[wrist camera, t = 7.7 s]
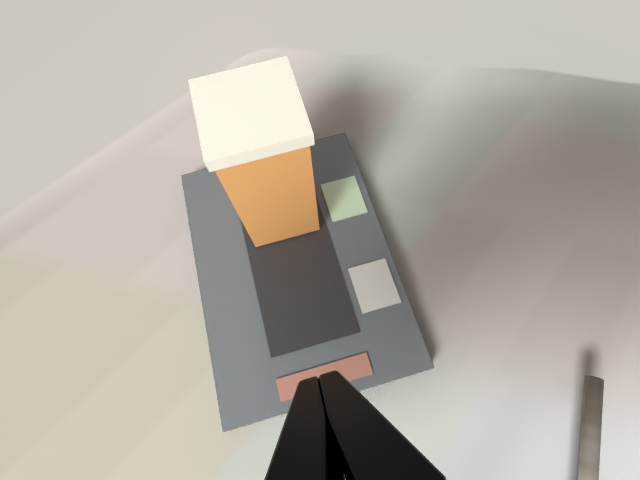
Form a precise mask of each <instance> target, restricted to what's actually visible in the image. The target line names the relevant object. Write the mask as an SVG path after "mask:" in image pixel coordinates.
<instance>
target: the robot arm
mask: <svg viewBox="0 0 640 480" xmlns="http://www.w3.org/2000/svg"><path fill="white" fill-rule="evenodd" d="M344 476H345V477H344ZM345 479H346V480H446V477H445V476H444V475H443V474H442V473H441V472H440V471H439V470H438V469H437V468H436V467H435V466H434V465H433V464H432V463H431V462H430V461H429V460H428V459H427V458H426V457H425V456H424V455H423V454H422V453H421V452H420V451H419V450H418V449H417V448H416V447H415V446H414V445H413V444H412V443H411V442H410V441H409V440H408V439H406V438H405V437H404V436H403V435H402V434H401V433H400V432H399V431H398V430H397V429H396V428H395V427H394V426H393V425H392V424H391V423H390V422H389V421H388V420H387V419H386V418H385V417H384V416H383V415H382V414H381V413H380V412H379V411H378V410H377V409H376V408H375V407H374V406H373V405H372V404H371V403H370V402H369V401H368V400H367V399H366V398H365V397H364V396H363V395H362V394H361V393H360V392H359V391H358V390H357V389H356V388H355V387H354V386H353V385H352V384H351V383H350V382H349V381H348V380H347V379H346V378H345V377H344V376H342V375H341V374H340V373H339V372H338V371H336V370H334V371H331V372H327V373H324V374H321V375H320V376H319V379H318V377H316V376H314V377H311V378H307V379H304V380H301V381H300V382H299V383H298V385H297V388H296V391H295V394H294V397H293V399H292V402H291V405H290V408H289V411H288V414H287V417H286V419H285V422H284V425H283V428H282V431H281V434H280V437H279V439H278V442H277V445H276V448H275V451H274V454H273V457H272V459H271V462H270V465H269V468H268V471H267V474H266V477H265V479H264V480H345Z"/></svg>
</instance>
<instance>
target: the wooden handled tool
mask: <svg viewBox="0 0 640 480" xmlns="http://www.w3.org/2000/svg"><path fill="white" fill-rule="evenodd" d="M603 389H604V380H603V379H601V378H597V377H593V376H585V380H584V393H583V407H582V421H581V435H580V448H579V462H578V476H577V480H598V479H599V461H600V443H601V425H602V407H603Z"/></svg>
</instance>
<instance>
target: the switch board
mask: <svg viewBox="0 0 640 480" xmlns="http://www.w3.org/2000/svg"><path fill="white" fill-rule="evenodd" d="M314 143H315V145H312V146H310V151H311V160H312V168H313V177H314V185H315V194H316V202H317V211H318V220H319V228H320V230H317V231H313V232H309V233H306V234H302V235H298V236H295V237H291V238H288V239H284V240H280V241H277V242H273V243H269V244H266V245H262V246H259V247H255V245H254V243H253V241H252V239H251V237H250V236H249V234H248V232H247V230H246V228H245V226H244V224H243V223H242V221H241V219H240V217H239V215H238V213H237V211H236V210H235V208H234V206H233V204H232V202H231V200H230V198H229V197H228V195H227V193H226V191H225V189H224V187H223V185H222V183H221V182H220V180H219V178H218V176H217V174H216V172H215V171H213V172H209V170H208V169H204V170H200V171H196V172H192V173H188V174H185V175H181V176H182V183H183V189H184V195H185V201H186V207H187V213H188V220H189V226H190V232H191V238H192V244H193V250H194V257H195V263H196V269H197V275H198V281H199V287H200V294H201V300H202V306H203V312H204V318H205V324H206V331H207V337H208V343H209V349H210V355H211V362H212V368H213V374H214V380H215V386H216V392H217V399H218V405H219V411H220V417H221V423H222V429H223V432H225V431H229V430H233V429H236V428H239V427H242V426H246V425H249V424H252V423H256V422H259V421H262V420H265V419H269V418H272V417H275V416H279V415H282V414H285V413H288V411H289V408H290V405H291V402H292V399H293V397H294V394H295V391H296V388H297V385H298V383H299V382H300V381H301V380H304V379H307V378H311V377H314V376H316V377H318V379H319V376H320V375H321V374H324V373H327V372H331V371H334V370H336V371H338V372H339V373H340V374H341V375H342V376H344V377H345V378H346V379H347V380H348V381H349V382H350V383H351V384H352V385H353V386H354V387H355V388H356V389H357V390H358V391H361V390H364V389H367V388H371V387H374V386H377V385H380V384H384V383H387V382H390V381H393V380H397V379H400V378H403V377H407V376H410V375H413V374H416V373H420V372H423V371H426V370H430V369H432V368H434V366H433V363H432V360H431V358H430V355H429V352H428V350H427V347H426V345H425V342H424V339H423V337H422V334H421V331H420V329H419V326H418V323H417V321H416V318H415V316H414V313H413V310H412V308H411V305H410V302H409V300H408V297H407V294H406V292H405V289H404V287H403V284H402V281H401V279H400V276H399V273H398V271H397V268H396V266H395V263H394V260H393V258H392V255H391V252H390V250H389V247H388V244H387V242H386V239H385V237H384V234H383V231H382V229H381V226H380V223H379V221H378V218H377V215H376V213H375V210H374V208H373V205H372V202H371V200H370V197H369V194H368V192H367V189H366V186H365V184H364V181H363V179H362V176H361V173H360V171H359V168H358V165H357V163H356V160H355V157H354V155H353V152H352V150H351V147H350V144H349V142H348V139H347V136H346V134H345V133H342V134H338V135H334V136H331V137H327V138H323V139H319V140H315V141H314Z"/></svg>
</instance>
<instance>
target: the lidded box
mask: <svg viewBox="0 0 640 480" xmlns="http://www.w3.org/2000/svg"><path fill="white" fill-rule="evenodd" d="M188 82H189V87H190V92H191V98H192V103H193V108H194V113H195V118H196V124H197V129H198V134H199V139H200V144H201V150H202V155H203V160H204V163H205V165H206V167H207V169H208V170H209V172H213V171H215V172H216V174H217V176H218V178H219V180H220V182H221V183H222V185H223V187H224V189H225V191H226V193H227V195H228V197H229V198H230V200H231V202H232V204H233V206H234V208H235V210H236V211H237V213H238V215H239V217H240V219H241V221H242V223H243V224H244V226H245V228H246V230H247V232H248V234H249V236H250V237H251V239H252V241H253V243H254V245H255V247H259V246H262V245H266V244H269V243H273V242H277V241H280V240H284V239H288V238H291V237H295V236H298V235H302V234H306V233H309V232H313V231H317V230H320V228H319V220H318V211H317V202H316V194H315V185H314V177H313V168H312V160H311V151H310V146H312V145H315V143H314V134H313V131H312V128H311V125H310V122H309V119H308V116H307V113H306V110H305V107H304V104H303V101H302V98H301V95H300V92H299V89H298V86H297V83H296V81H295V78H294V75H293V72H292V69H291V66H290V63H289V60H288V57H287V56H284V57H280V58H276V59H272V60H268V61H264V62H260V63H255V64H251V65H247V66H243V67H239V68H235V69H231V70H227V71H223V72H219V73H215V74H211V75H207V76H202V77H198V78H195V79H190V80H188Z"/></svg>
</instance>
